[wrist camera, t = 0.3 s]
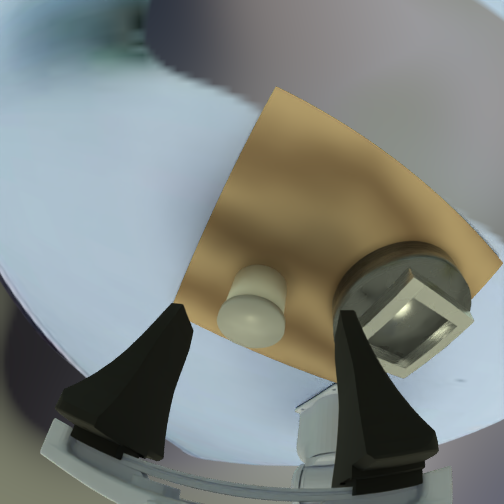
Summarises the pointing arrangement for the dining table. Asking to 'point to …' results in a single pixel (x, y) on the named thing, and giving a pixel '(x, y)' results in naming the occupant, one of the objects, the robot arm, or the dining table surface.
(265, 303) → the flanged cap
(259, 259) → the board
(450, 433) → the dining table surface
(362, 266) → the grey round socket base
